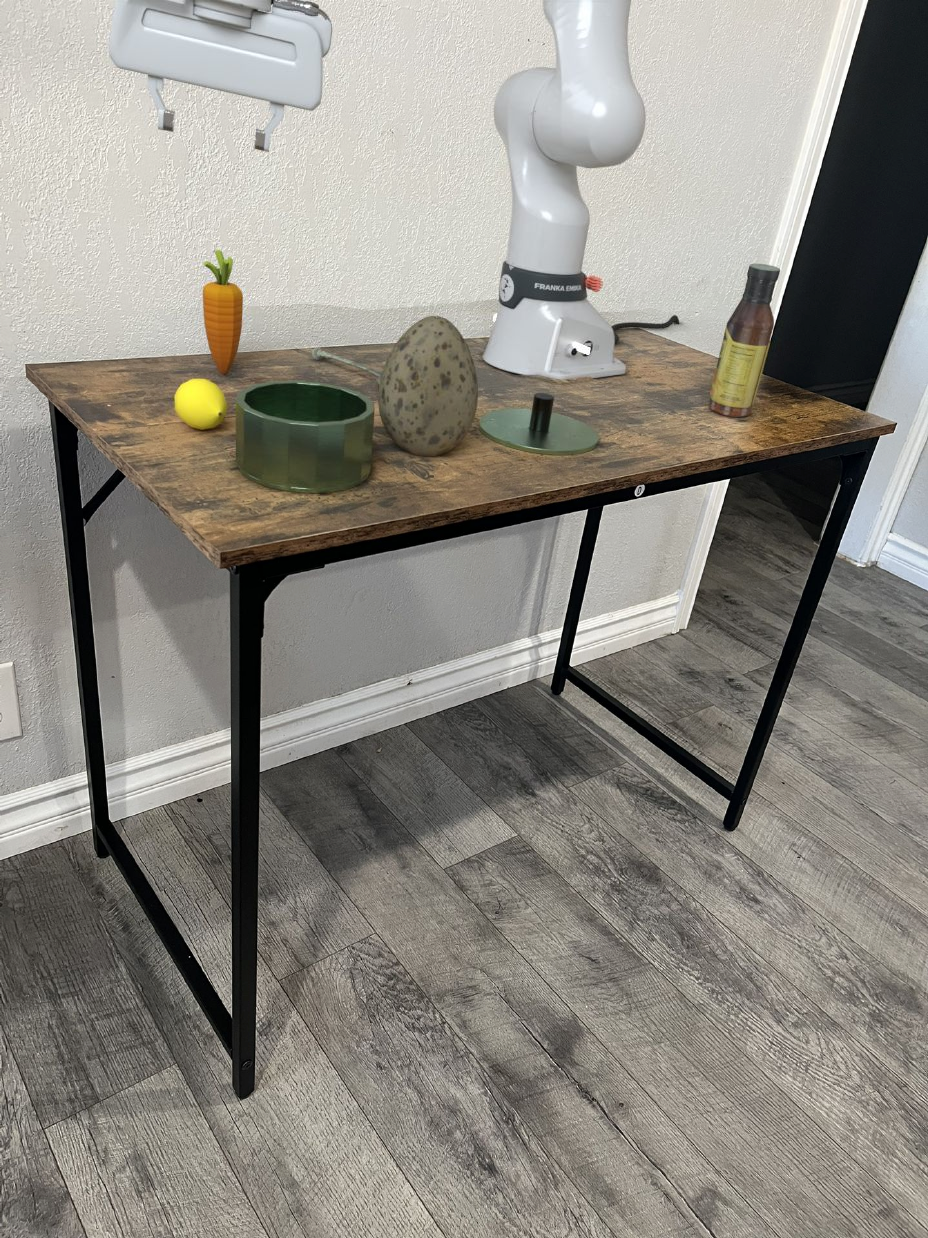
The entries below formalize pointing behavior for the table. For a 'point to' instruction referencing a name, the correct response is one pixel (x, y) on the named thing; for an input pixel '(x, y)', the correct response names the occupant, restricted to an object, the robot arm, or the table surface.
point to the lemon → (200, 404)
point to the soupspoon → (320, 354)
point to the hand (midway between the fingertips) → (214, 139)
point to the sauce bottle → (745, 345)
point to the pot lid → (539, 429)
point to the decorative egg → (428, 388)
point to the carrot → (222, 314)
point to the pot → (304, 436)
